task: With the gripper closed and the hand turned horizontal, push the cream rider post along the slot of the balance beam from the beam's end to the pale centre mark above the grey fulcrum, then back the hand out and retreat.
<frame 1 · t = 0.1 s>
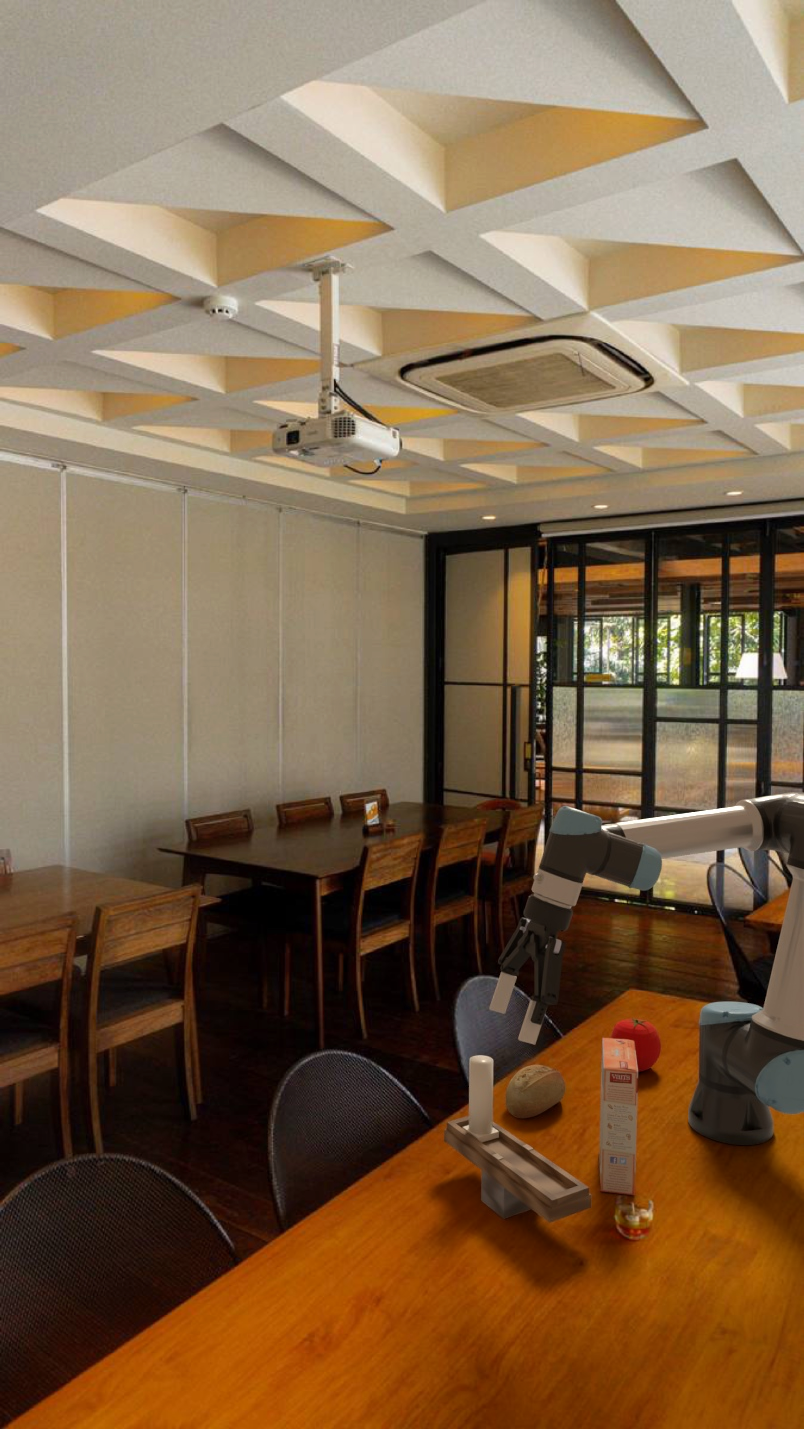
hand: (511, 1026, 153), 28 cm above the table, tool tilted 20°, fingers open, 13 cm apart
cracker box: (617, 1174, 161), on the table
beam: (512, 1202, 151), on the table
bread roll: (536, 1109, 185), on the table
tomato: (633, 1069, 204), on the table
rider: (480, 1097, 159), point 14 cm above the table, slide at 0.0 cm
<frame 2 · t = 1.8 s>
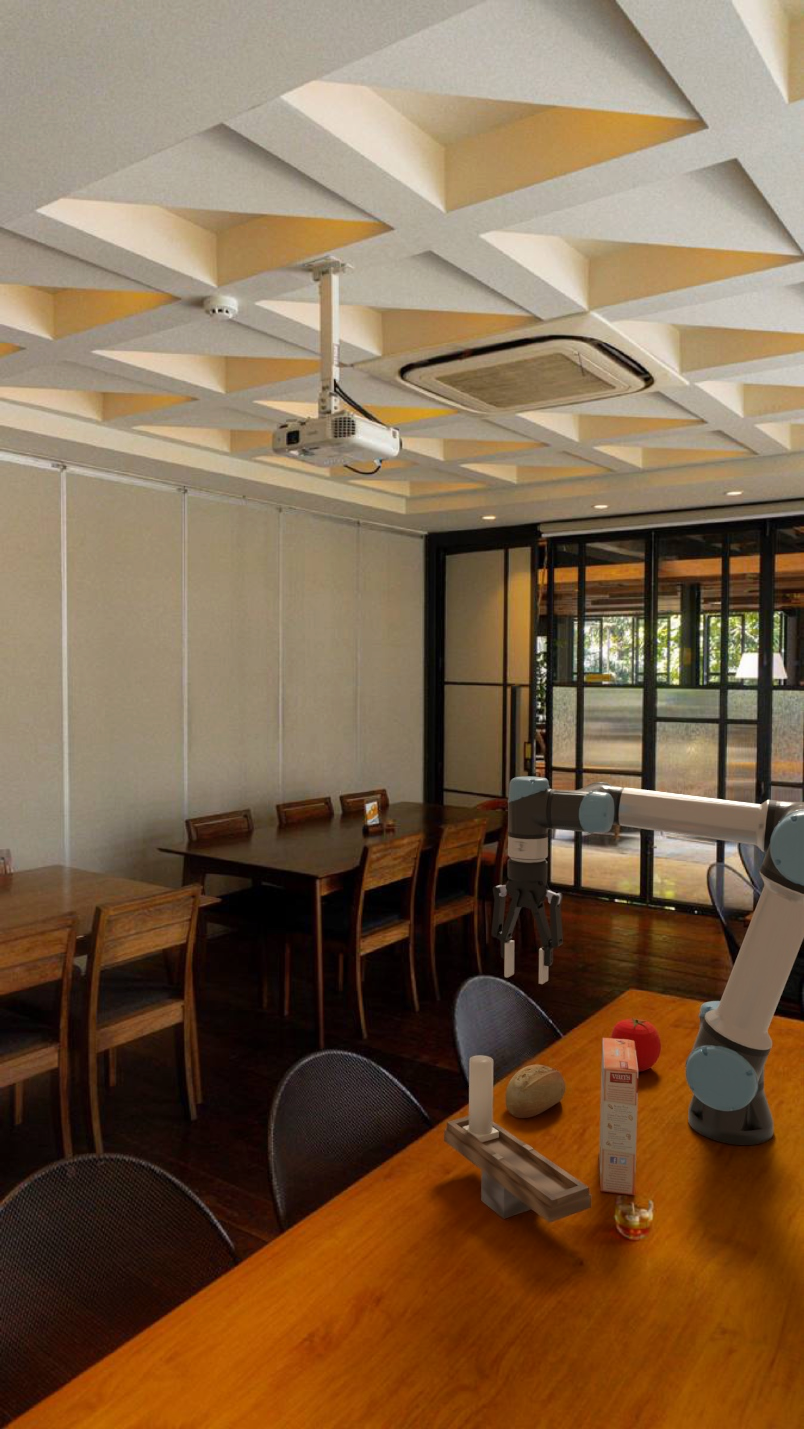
hand: (526, 978, 180), 27 cm above the table, tool pointing down, fingers open, 6 cm apart
nothing on the table moved.
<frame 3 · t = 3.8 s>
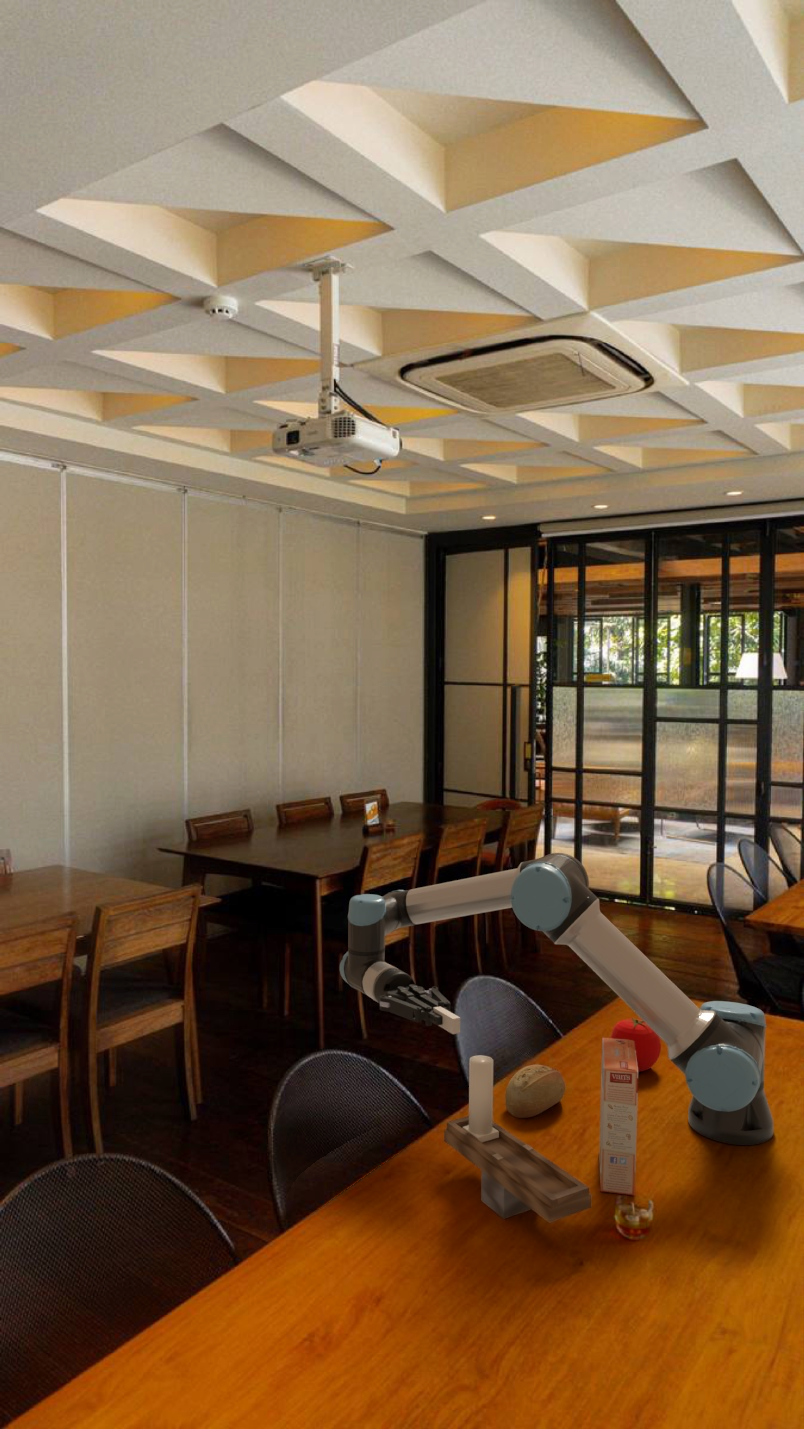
hand: (456, 1025, 165), 23 cm above the table, tool horizontal, fingers closed
nothing on the table moved.
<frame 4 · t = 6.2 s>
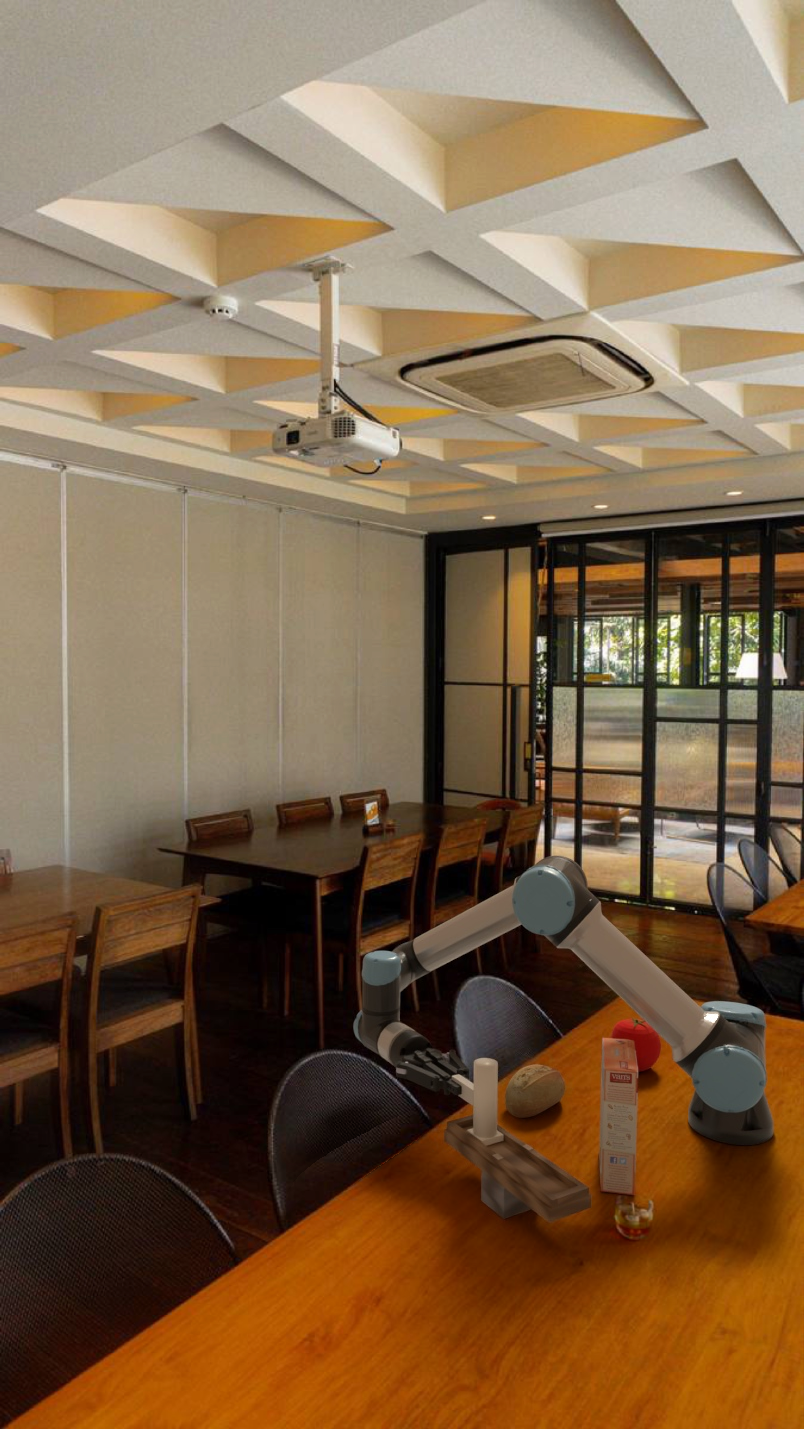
hand: (476, 1096, 159), 13 cm above the table, tool horizontal, fingers closed
rider: (485, 1100, 158), point 14 cm above the table, slide at 1.3 cm, touching gripper
everything else where it was.
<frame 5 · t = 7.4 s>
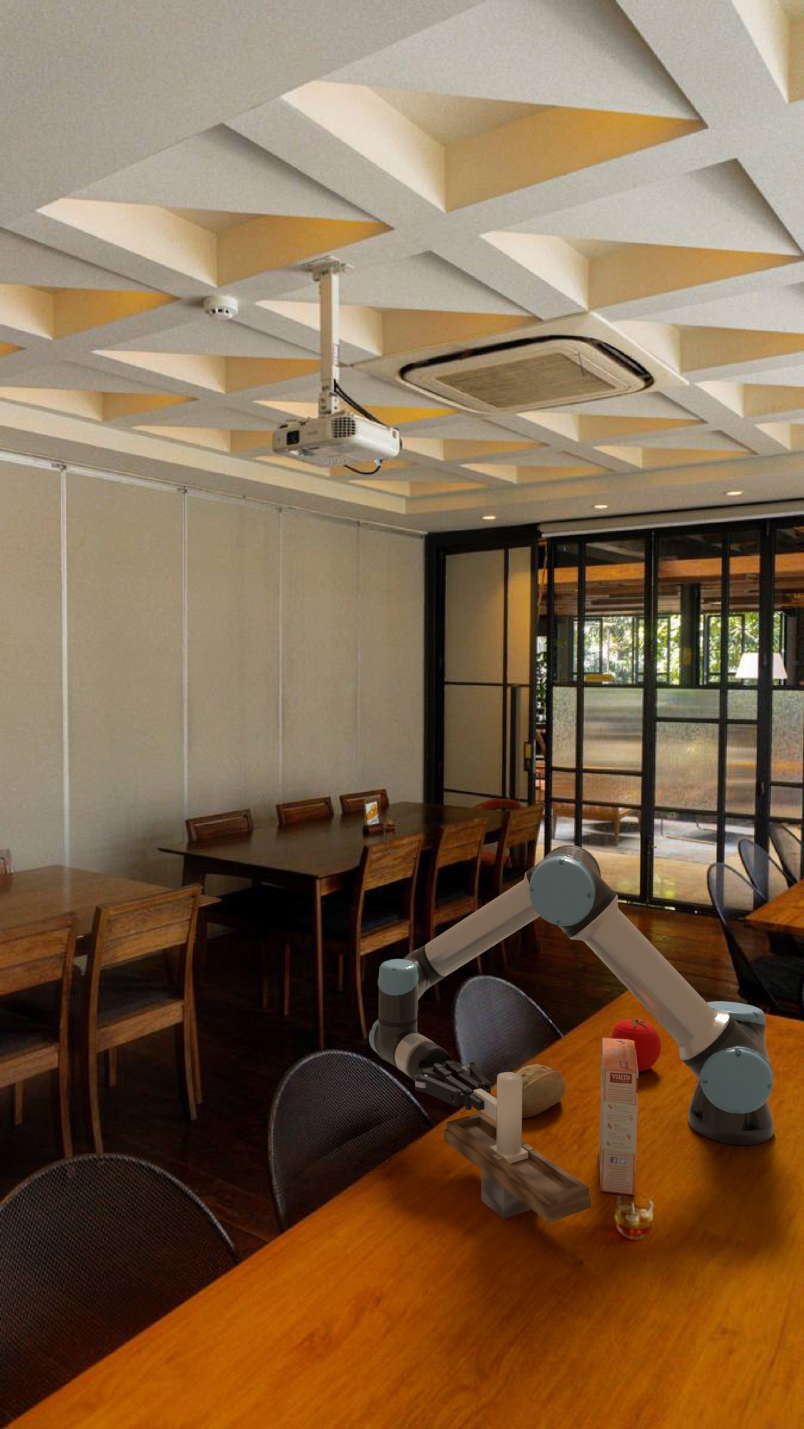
hand: (499, 1112, 154), 13 cm above the table, tool horizontal, fingers closed
rider: (509, 1116, 152), point 14 cm above the table, slide at 7.9 cm, touching gripper
everything else where it was.
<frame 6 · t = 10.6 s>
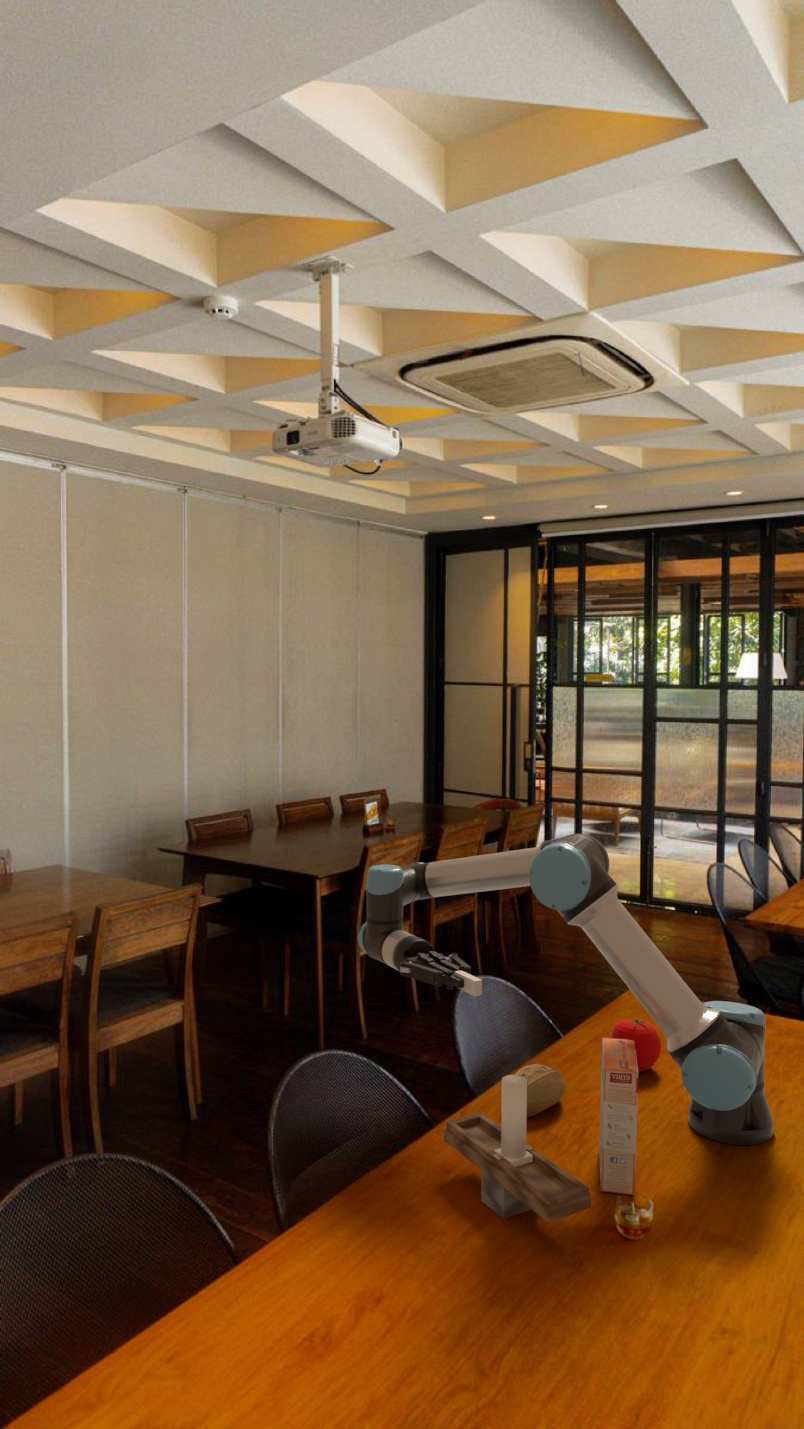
hand: (478, 988, 165), 30 cm above the table, tool horizontal, fingers closed
rider: (513, 1119, 151), point 14 cm above the table, slide at 9.1 cm
everything else where it was.
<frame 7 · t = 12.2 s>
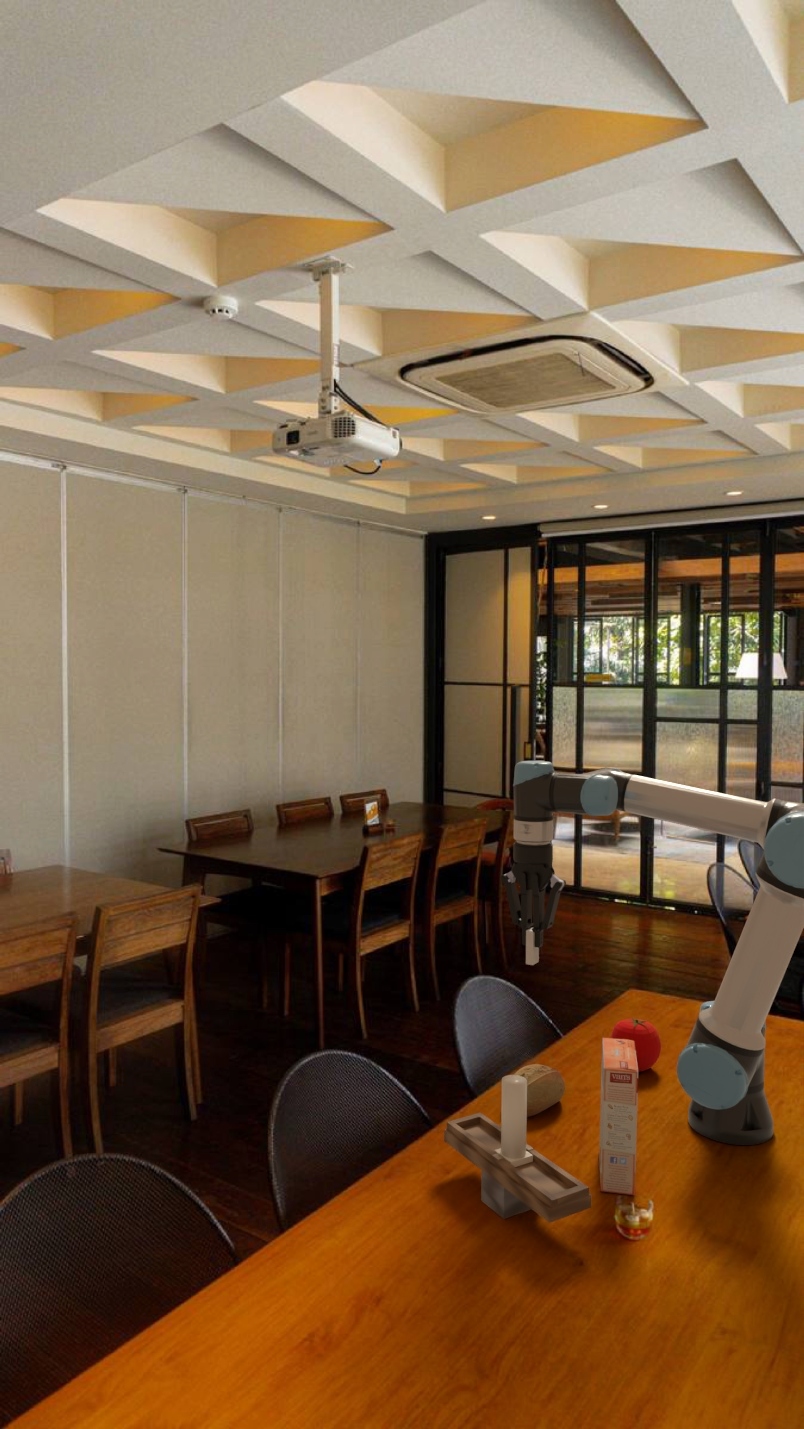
hand: (532, 962, 182), 29 cm above the table, tool pointing down, fingers closed
nothing on the table moved.
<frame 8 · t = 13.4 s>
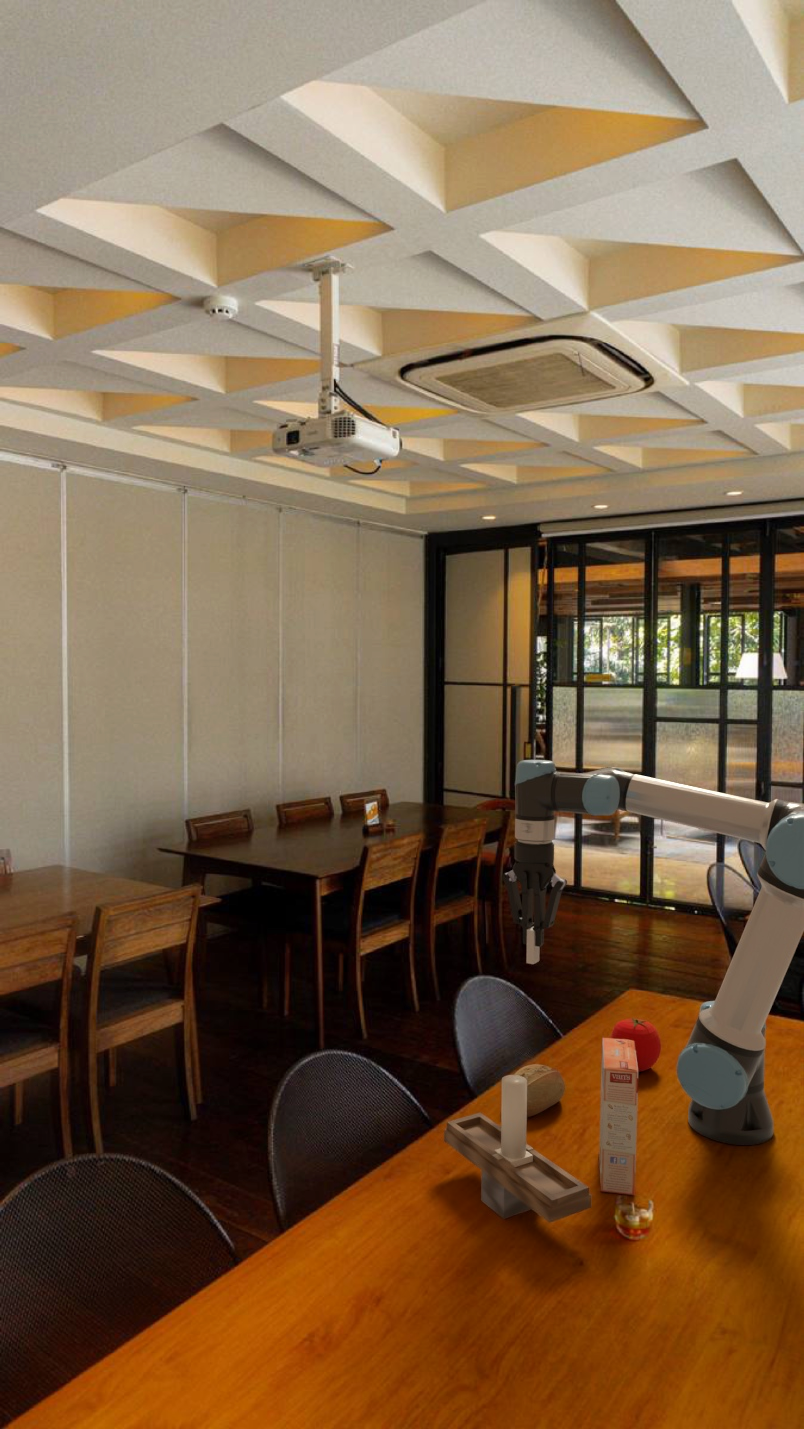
hand: (532, 961, 182), 29 cm above the table, tool pointing down, fingers closed
nothing on the table moved.
at the end: rider slide at 9.1 cm; rider 0.1 cm from the beam (horizontally) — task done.
